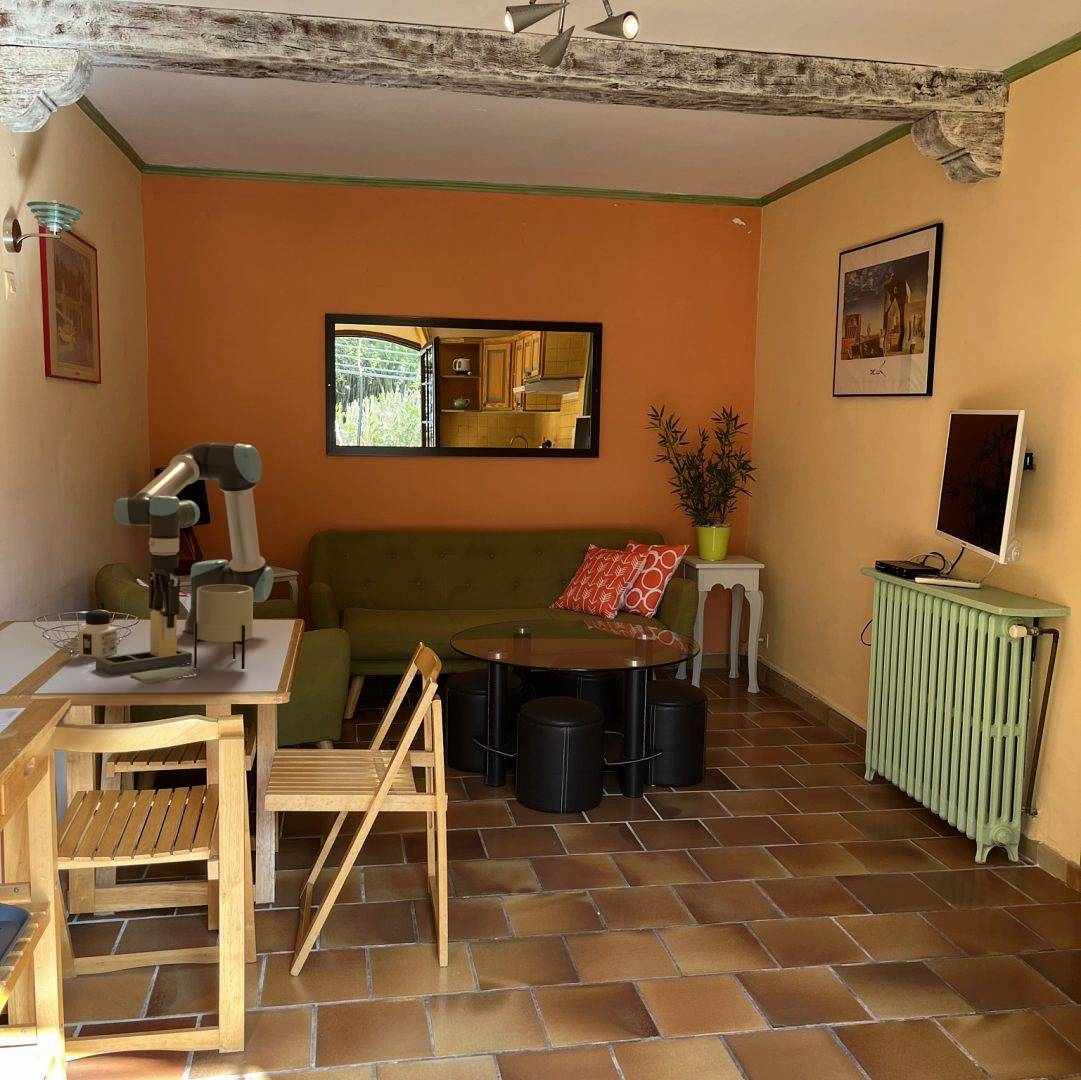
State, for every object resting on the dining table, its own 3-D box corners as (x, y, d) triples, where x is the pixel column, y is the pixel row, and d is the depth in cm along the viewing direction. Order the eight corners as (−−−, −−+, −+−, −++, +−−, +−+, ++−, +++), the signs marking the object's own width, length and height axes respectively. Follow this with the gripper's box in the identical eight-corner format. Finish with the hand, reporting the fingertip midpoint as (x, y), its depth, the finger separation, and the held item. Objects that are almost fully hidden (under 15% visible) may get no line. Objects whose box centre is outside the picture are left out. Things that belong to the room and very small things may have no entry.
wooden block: (167, 651, 292) (167, 607, 291) (176, 654, 289) (176, 610, 287) (150, 653, 288) (150, 609, 287) (159, 657, 285) (159, 612, 284)
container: (101, 658, 306) (101, 614, 304) (78, 656, 307) (77, 612, 306) (117, 652, 313) (117, 609, 312) (94, 650, 315) (94, 607, 313)
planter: (259, 662, 309) (261, 585, 307) (241, 675, 294) (242, 594, 291) (209, 659, 310) (209, 582, 308) (187, 672, 294) (188, 591, 292)
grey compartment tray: (176, 657, 311) (176, 647, 310) (191, 663, 305) (191, 653, 304) (95, 669, 293) (95, 658, 293) (110, 675, 287) (110, 664, 287)
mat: (178, 668, 298) (178, 666, 298) (196, 675, 291) (196, 673, 291) (130, 675, 288) (130, 673, 288) (147, 683, 281) (147, 681, 281)
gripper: (135, 550, 289) (135, 633, 292) (167, 558, 277) (166, 645, 279) (161, 548, 294) (160, 630, 297) (193, 556, 282) (193, 641, 285)
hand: (163, 637), depth 288 cm, fingers closed on wooden block, 5 cm apart
